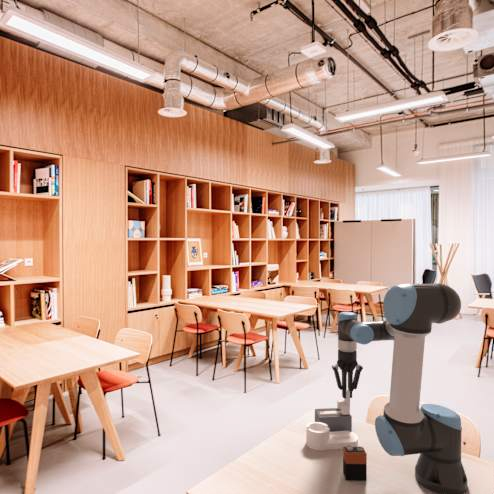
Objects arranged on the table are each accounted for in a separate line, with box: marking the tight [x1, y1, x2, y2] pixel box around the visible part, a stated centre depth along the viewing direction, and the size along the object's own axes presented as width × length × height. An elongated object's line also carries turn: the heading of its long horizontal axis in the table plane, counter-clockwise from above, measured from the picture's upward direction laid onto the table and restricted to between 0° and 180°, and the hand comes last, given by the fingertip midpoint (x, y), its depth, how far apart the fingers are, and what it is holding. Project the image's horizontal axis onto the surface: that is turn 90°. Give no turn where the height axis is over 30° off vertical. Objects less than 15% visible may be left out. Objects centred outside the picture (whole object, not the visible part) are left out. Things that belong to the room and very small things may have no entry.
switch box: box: [314, 407, 353, 432], centre depth 159 cm, size 8×13×7 cm, turn 94°
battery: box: [342, 445, 368, 482], centre depth 127 cm, size 4×7×10 cm, turn 88°
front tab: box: [341, 405, 351, 415], centre depth 156 cm, size 2×3×3 cm, turn 95°
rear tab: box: [336, 399, 346, 409], centre depth 161 cm, size 2×3×3 cm, turn 95°
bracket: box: [305, 421, 359, 451], centre depth 148 cm, size 20×9×7 cm, turn 98°
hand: (347, 405), depth 162 cm, fingers closed
